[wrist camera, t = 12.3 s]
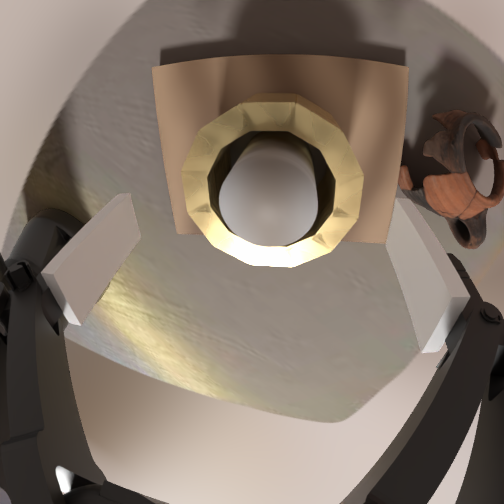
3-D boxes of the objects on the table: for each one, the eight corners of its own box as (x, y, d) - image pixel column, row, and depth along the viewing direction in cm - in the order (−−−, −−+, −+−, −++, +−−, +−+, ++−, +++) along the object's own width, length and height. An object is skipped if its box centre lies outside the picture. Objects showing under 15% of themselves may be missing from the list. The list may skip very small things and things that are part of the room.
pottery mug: (369, 142, 22) (429, 121, 14) (432, 109, 23) (489, 90, 14) (420, 260, 25) (481, 280, 17) (473, 214, 25) (530, 220, 17)
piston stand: (182, 225, 30) (135, 301, 21) (159, 66, 20) (76, 78, 11) (382, 234, 27) (410, 319, 18) (402, 66, 17) (472, 74, 9)
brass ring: (217, 217, 24) (196, 261, 19) (205, 96, 18) (172, 108, 14) (340, 222, 23) (349, 269, 18) (349, 96, 17) (369, 108, 12)
